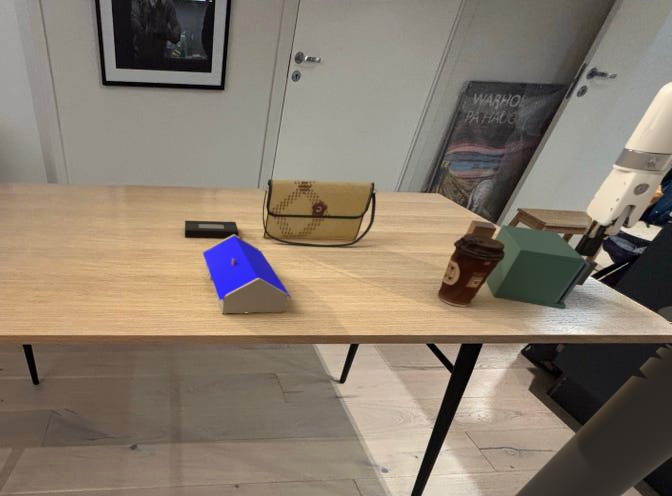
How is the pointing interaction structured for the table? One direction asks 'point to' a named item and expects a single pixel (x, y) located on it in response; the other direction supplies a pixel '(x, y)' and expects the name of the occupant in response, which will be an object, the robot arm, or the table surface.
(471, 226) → the walnut block
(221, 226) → the vhs tape
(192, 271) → the table surface
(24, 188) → the table surface
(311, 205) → the clutch purse
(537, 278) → the cabinet
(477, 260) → the coffee cup
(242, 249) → the roof
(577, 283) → the dark grey slanted bar
